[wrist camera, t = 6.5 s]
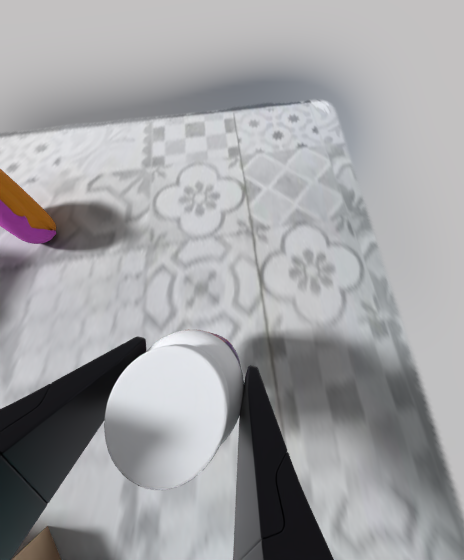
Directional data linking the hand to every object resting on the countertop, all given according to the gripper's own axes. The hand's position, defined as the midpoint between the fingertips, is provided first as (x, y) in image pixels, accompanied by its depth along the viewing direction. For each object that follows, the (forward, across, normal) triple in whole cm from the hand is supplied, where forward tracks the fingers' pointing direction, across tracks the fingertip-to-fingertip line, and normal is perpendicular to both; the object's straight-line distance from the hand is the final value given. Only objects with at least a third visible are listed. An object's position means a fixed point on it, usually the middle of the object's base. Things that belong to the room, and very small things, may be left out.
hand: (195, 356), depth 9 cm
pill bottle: (+4, 0, +6) cm, 7 cm away
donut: (+15, +27, +2) cm, 31 cm away
